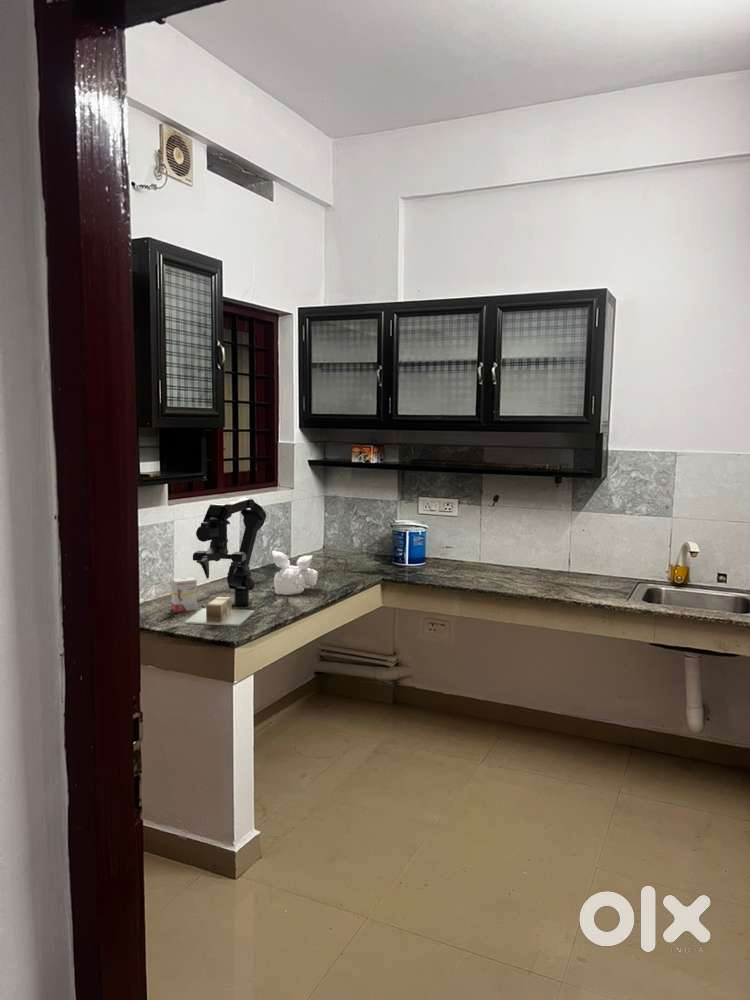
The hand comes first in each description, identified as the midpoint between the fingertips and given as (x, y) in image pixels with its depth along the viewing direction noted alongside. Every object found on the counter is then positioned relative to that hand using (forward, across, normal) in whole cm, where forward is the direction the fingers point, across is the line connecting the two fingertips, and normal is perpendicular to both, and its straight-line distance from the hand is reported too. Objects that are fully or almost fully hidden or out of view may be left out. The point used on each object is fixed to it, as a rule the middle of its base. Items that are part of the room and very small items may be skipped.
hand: (219, 579), depth 274 cm
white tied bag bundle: (+13, +19, +41) cm, 47 cm away
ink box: (+13, -15, +3) cm, 20 cm away
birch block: (+9, +2, -1) cm, 10 cm away
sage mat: (+13, +2, -6) cm, 14 cm away
